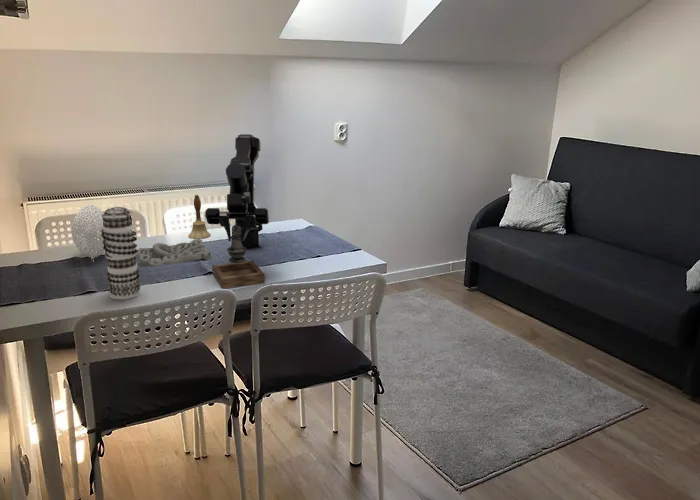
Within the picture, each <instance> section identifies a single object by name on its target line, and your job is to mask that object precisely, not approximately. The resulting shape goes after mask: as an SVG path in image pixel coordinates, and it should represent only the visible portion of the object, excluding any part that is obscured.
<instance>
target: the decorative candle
mask: <svg viewBox="0 0 700 500" xmlns="http://www.w3.org/2000/svg"><path fill="white" fill-rule="evenodd" d="M132 215H133V212H132V211H130V210H129V209H128V208H127V207H125V206H112V207H110V208H107V209H105V211H104V212H103V214H102V215H101V216H102V217H103V229H101V230H102V231H101V232H102V235H101V238H102V237H103V239H104V240H103V244H104V247H103V249H104V257H105V258H106V259H107V260H106V261H107V273H106V276H107V280H108V284H107V287H108V292H109V297H110V298H112V299H113V300H114V299H116V300H128V299H133V298H135V297H137V296H139V295H141V292H142V291H141V287H142V286H141V285H140V283H141V280H140V279H139V278H140V274H139V272H140V269H139V268H138V262H137V258H136V257H137V256H136V255H137V251H138V249H137V246H138V245H137V244H136V243H135V242H136V241H137V240H138V238H137V237H136V235H137V232H136V231H134V228H135V227H134V223H133V217H132ZM103 231H104V232H103ZM101 232H100V233H101ZM104 234H105V236H104Z"/></svg>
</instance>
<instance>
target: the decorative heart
mask: <svg viewBox="0 0 700 500" xmlns="http://www.w3.org/2000/svg"><path fill="white" fill-rule="evenodd" d="M102 214H104V212H103V211H102V210H101V208H100V207H98V206H96V205H93V204H88V205H85V206H83V208H81V209H80V210H79V211H78V213H77V214H76V215H75V216H74V217H73V219H72V223H71V227H70V229H71V236H72V240H73V242H74V244H75V247H77V249H78V250H79V251H80V253H82V254H83V255H84V256H86V257H88V258H90V257H91V258H90V259H91V260H92V259H93V260H92V263H94V262H95V260H94V259H96V258H98V257H99V256H100V255H101V254H102V253H103V252H104V251H105V249H103V247H104V244H103V240H104V239H103V237H101V235H102V232H101V231H102V230H101V229H103V217H102V216H101V215H102ZM103 232H104V231H103ZM104 236H105V234H104ZM95 257H96V258H95Z"/></svg>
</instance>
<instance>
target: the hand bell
mask: <svg viewBox="0 0 700 500" xmlns="http://www.w3.org/2000/svg"><path fill="white" fill-rule="evenodd" d="M200 198H201V197H200V195H199V194H194V198H193V208H194V210H195V221H193V222H192V228H191V232H190V233H189V234H188V238H190V239H192V238H193V240H195V239H200V240H205V239H208V238H210V237H211V236H212V235H211V233H210V232H209V230H208V229H207V227H206V226H207V225H206V222H205V221H203V220H202V218H201V217H202V216H201V208H202V202H201V199H200Z"/></svg>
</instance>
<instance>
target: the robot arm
mask: <svg viewBox="0 0 700 500" xmlns="http://www.w3.org/2000/svg"><path fill="white" fill-rule="evenodd" d="M234 140H235V141H234V142H235V144H234V147H235V148H234V149H235V150H236V152H235V156H234V157H232V158H231V159H230V162H229V164H228V165H227V167H226V168H225V175H226V178H227V182H228V185H229V193H228V194H226V209H227V211H225V210H224V211H223V210H222V211H221V209H220V207H208V208H206V209H205V212H204V213H205V214H204V216H205V219H206V221H207V224H208V225H219V226H220V227H223V228H224V230H225V232H226V235H227V239H228V242H231V241H232V239H231V238H230V237H231V236H232V230H231V224H230V220H235V223H237V225H239V226H240V227H241V236H242V238H241V240H242V246H243V247H246V248H247V250H251V249H252V250H253V249H258V248H259V249H260V248H261V245H260V240H259V239H260V236H259V235H260V234H259V232H261V231H263V225H268V224H269V223H270V222H269V221H270V219H269V218H270V217H269V210H268V209H267V208H266V207H261V208H260V207H256V205H255V164H256V161H257V160H258V158H259V156H260V155H259V153H260V152H261V140H260V139H259V138H258V137H256V136H254V135H253V134H247V133H245V134H243V133H241V134H238V135H237V137H235V139H234ZM235 223H234V224H235Z"/></svg>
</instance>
